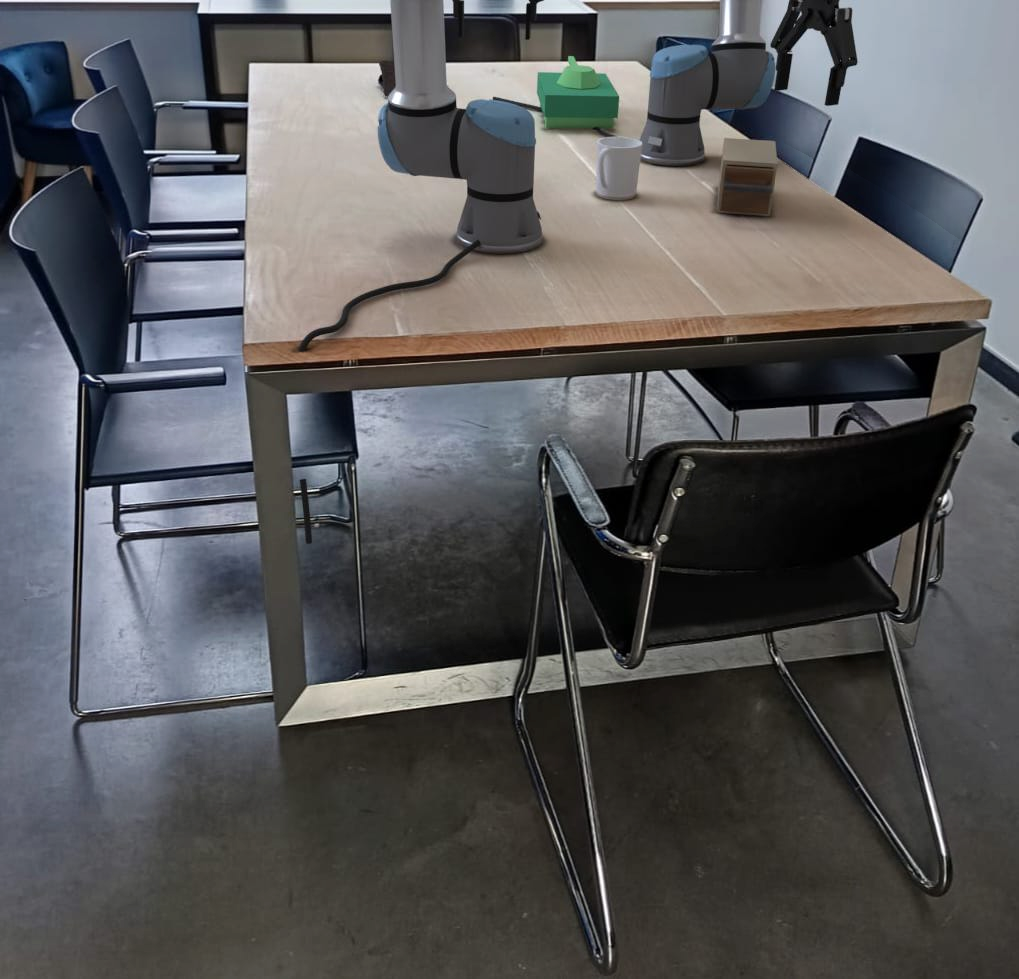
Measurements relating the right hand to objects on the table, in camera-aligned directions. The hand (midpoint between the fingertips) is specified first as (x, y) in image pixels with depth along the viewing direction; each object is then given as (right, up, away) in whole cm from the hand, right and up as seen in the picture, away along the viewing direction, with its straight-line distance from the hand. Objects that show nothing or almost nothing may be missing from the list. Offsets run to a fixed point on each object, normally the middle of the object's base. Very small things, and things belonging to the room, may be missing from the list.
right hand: (805, 97), depth 206 cm
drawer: (-10, -18, +8) cm, 22 cm away
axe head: (-85, +35, +94) cm, 132 cm away
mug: (-35, -15, +14) cm, 41 cm away
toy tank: (-39, +21, +73) cm, 86 cm away
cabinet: (-9, -16, +13) cm, 23 cm away
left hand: (-59, +18, +16) cm, 63 cm away
